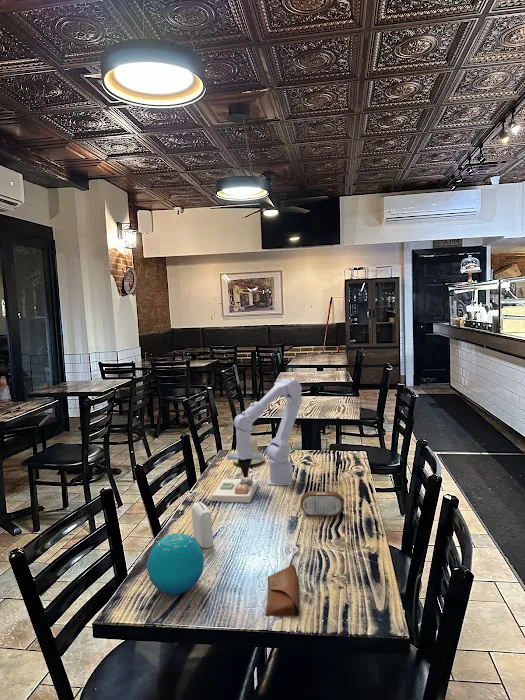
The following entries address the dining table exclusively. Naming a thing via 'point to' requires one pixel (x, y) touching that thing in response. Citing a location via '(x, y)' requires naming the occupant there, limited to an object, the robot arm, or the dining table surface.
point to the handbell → (253, 451)
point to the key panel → (230, 495)
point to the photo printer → (202, 525)
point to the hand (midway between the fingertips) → (245, 476)
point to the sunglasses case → (283, 593)
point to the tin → (321, 503)
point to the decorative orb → (175, 563)
